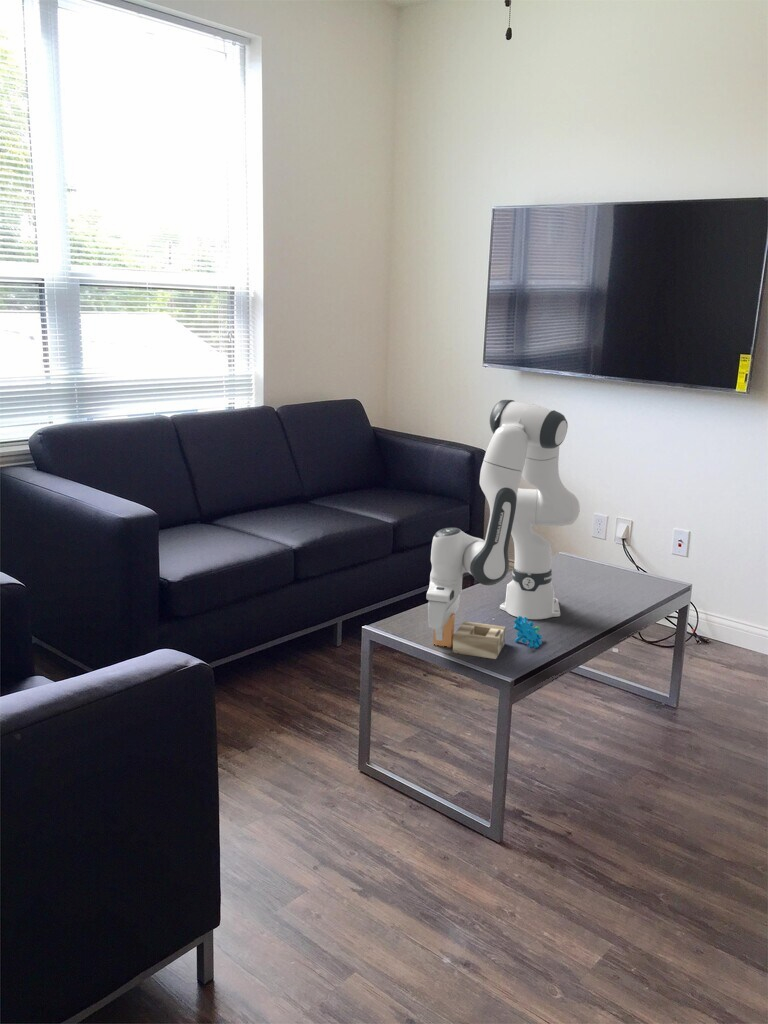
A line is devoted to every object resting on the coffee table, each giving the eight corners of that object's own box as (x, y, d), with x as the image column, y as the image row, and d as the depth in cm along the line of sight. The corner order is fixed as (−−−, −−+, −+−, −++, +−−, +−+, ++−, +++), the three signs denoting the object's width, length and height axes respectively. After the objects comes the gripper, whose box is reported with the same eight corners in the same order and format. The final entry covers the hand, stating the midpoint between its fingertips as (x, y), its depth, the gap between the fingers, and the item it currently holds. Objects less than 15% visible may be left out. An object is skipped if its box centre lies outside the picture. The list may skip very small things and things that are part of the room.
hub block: (463, 637, 247) (464, 620, 246) (504, 643, 244) (505, 626, 242) (452, 652, 236) (453, 634, 235) (495, 659, 232) (496, 640, 231)
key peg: (436, 641, 244) (437, 611, 242) (453, 643, 243) (454, 613, 241) (433, 644, 242) (434, 614, 240) (450, 647, 240) (451, 616, 238)
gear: (529, 648, 236) (511, 616, 240) (514, 658, 239) (497, 627, 243) (551, 643, 244) (533, 612, 248) (536, 653, 248) (519, 623, 251)
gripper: (444, 574, 249) (442, 620, 252) (424, 595, 230) (423, 644, 233) (465, 577, 247) (464, 623, 250) (447, 598, 228) (445, 647, 231)
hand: (444, 633), depth 241 cm, fingers open, 8 cm apart
